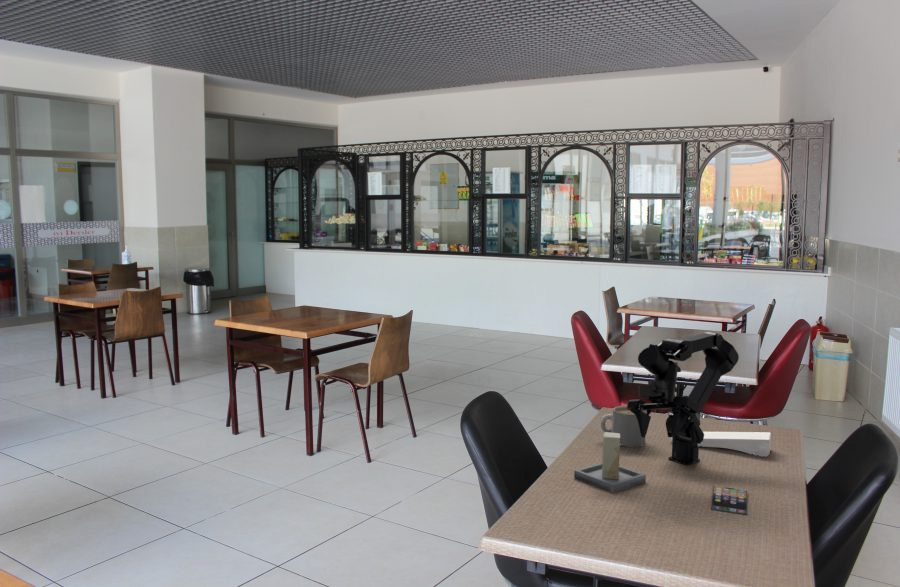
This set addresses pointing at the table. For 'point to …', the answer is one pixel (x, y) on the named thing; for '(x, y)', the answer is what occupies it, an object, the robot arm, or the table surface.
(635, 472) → the tray
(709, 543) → the table surface
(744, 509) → the smartphone
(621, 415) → the coffee mug
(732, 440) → the wall bracket
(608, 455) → the box
